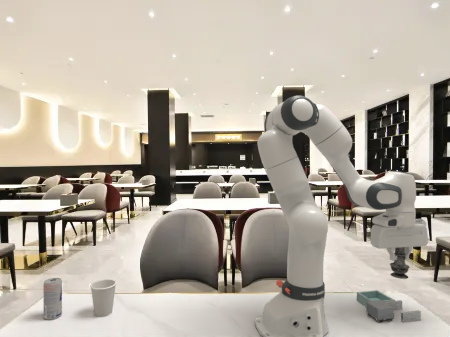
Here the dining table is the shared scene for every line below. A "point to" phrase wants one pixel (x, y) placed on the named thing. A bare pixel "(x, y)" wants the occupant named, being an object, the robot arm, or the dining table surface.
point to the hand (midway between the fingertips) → (399, 259)
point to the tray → (372, 297)
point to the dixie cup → (103, 296)
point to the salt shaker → (399, 264)
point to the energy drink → (52, 298)
